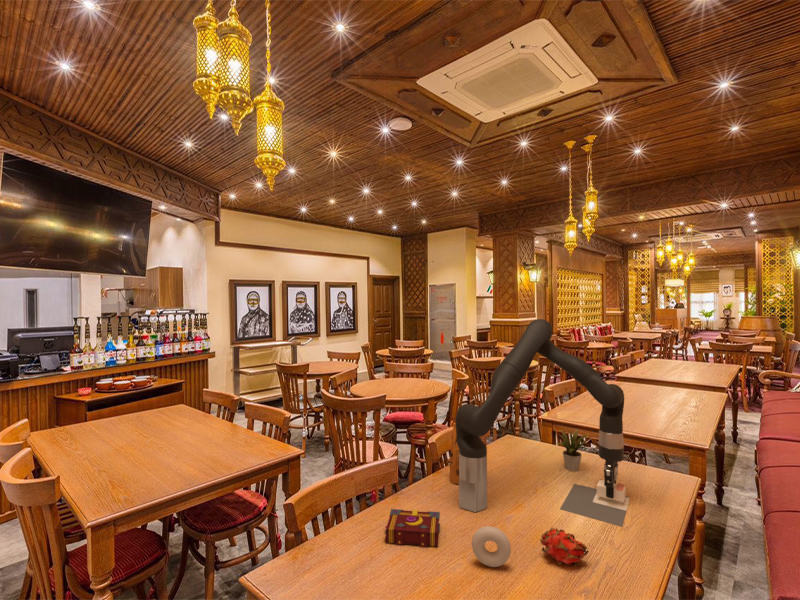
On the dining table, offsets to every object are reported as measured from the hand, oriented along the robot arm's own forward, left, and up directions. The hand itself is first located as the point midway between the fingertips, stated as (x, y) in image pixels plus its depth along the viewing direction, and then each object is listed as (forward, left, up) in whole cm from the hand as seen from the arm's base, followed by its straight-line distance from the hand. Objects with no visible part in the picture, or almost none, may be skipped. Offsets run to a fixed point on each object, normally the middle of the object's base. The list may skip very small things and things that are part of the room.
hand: (611, 493), depth 137 cm
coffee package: (-13, +48, -3) cm, 50 cm away
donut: (-54, +21, -3) cm, 58 cm away
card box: (0, 0, -1) cm, 1 cm away
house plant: (+20, +16, -3) cm, 26 cm away
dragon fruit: (-41, +6, -3) cm, 42 cm away
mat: (-5, +4, -3) cm, 7 cm away
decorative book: (-54, +46, -3) cm, 71 cm away
